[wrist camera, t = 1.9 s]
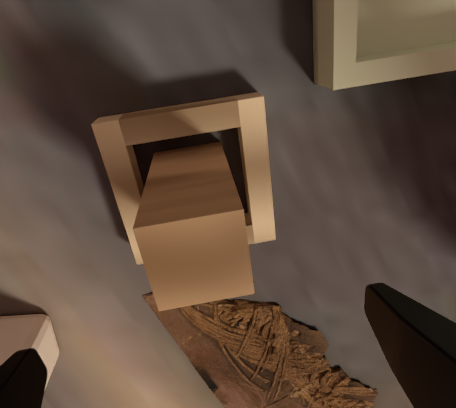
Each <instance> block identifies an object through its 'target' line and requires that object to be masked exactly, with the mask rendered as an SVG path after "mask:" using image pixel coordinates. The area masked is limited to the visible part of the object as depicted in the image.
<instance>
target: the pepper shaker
mask: <svg viewBox="0 0 456 408" xmlns="http://www.w3.org/2000/svg"><path fill="white" fill-rule="evenodd" d="M28 348H34V349H36V351H37V352H38V354H39V355H40V357H41V359H42V361H43V362H44V364H45V366H46V368H47V373H48V374H47V381H46V386H47V383H48V381H49V378H50V376H51V373H52V371H53V368H54V366H55V363H56V361H57V358H58V355H59V348H58V345H57V341H56V338H55V334H54V331H53V327H52V324H51V320H50V318H49V317H48V316H47V315H44V314H32V315H16V316H0V365H2V364H3V363H4V362H5V361H6V360H7V359H8V358H9V357H10V356H11V355H12V354H14V353H15V352H16V351H19V350H23V349H28ZM46 386H45V388H46Z"/></svg>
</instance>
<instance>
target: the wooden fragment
mask: <svg viewBox="0 0 456 408" xmlns="http://www.w3.org/2000/svg"><path fill="white" fill-rule="evenodd" d="M143 297H144V299H145V300H146V302H147V303H148V305H149V306H150V307H151V308H152V310H153V311H154V313H155V314H156V315H157V317H158V318H159V319H160V321H161V322H162V324H163V325H164V327H165V328H166V329H167V330H168V331H169V333H170V335H171V336H172V337H173V338H174V340H175V341H176V343H177V344H178V345H179V346H180V348H181V349H182V350H183V352H184V353H185V354H186V356H187V357H188V358H189V360H190V361H191V362H192V364H193V365H194V367H195V369H196V370H197V372H198V373H199V374H200V376H201V377H202V378H203V379H204V381H205V382H206V384H207V385H208V386H209V388H210V389H211V391H212V392H213V393H214V394H215V395H216V397H217V398H218V399H219V400H220V401H221V403H222V404H223V406H224V407H226V408H373V406H374V402H373V400H374V399H375V398H376V396H377V394H378V390H376V389H371V387H364V385H363V384H361V383H360V382H359V383H358V382H357V381H353V380H350V379H349V377H348V375H347V374H345V373H344V371H343V369H342V368H334V369H331V368H330V365H329V361H328V360H327V359H326V357H325V355H323V353H324V352H325V351H326V350H327V348H328V343H327V341H326V339H325V338H324V336H323V335H322V334H321V333H320V332H319V331H318V330H316V331H315V330H310V329H309V328H307V327H306V326H304V325H300V324H298V323H296V322H294V321H292V320H291V319H290V318H289V317H287V316H285V315H284V314H283V313H282V312H281V306H279V305H275V304H271V303H268V302H252V301H248V300H237V299H235V300H234V301H228V300H217V301H212V302H207V303H201V304H196V305H191V306H185V307H180V308H175V309H169V310H164V311H158V308H157V304H156V301H155V298H154V295H153V292H152V293H150V294H146V295H143Z"/></svg>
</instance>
